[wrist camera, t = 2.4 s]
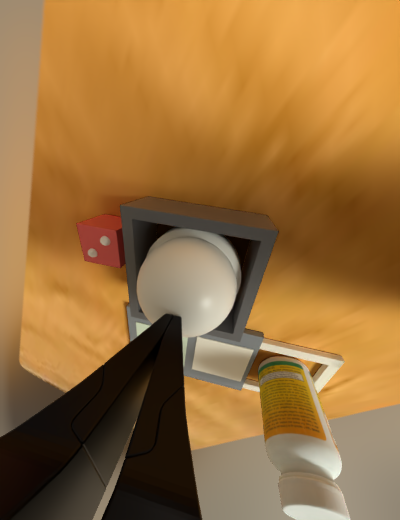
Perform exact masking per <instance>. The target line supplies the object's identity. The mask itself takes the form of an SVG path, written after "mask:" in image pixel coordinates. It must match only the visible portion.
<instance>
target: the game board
mask: <svg viewBox="0 0 400 520" xmlns="http://www.w3.org/2000/svg"><path fill="white" fill-rule="evenodd" d="M127 315H128V324H129V333H130V342H131V341H132V340H134V339H135V338H136V337H137V336H139V335H140V334H141V333H142V332H143V331H145V330H146V329H147V328H148V327H150V326H151V325H152V323H151V322H150V321H148V320H143V319H139V318H135V317H131V312H130V303H129V304H128V305H127ZM182 340H183V366H184V376H188V377H192V378H195V379H199V380H203V381H207V382H210V383H214V384H218V385H222V386H226V387H229V388H233V389H237V390H241V389H242V388H246V389H249V390H253V391H257V392H260V389H259V382H257V381H253V380H249V379H246V378H247V376H248V373H249V371H250V369H251V366H252V364H253V362H254V360H255V357H256V355H257V353H258V351H259V349H262V350H266V351H271V352H275V353H279V354H283V355H288V356H292V357H296V358H300V359H304V360H309V361H313V362H317V363H321V364H322V366H321V367H320V368H319V370H318V371H317V372H316V373H315V375H314V376H313V377H312V379H313V382H314V385H315V387H316V390H317V393H318V392H319V391H320V390H321V389H322V388H323V387H324V385H325V384H326V383H327V382H328V381H329V380H330V378H331V377H332V376H333V375H334V374H335V373H336V371H337V370H338V369H339V368H340V367H341V366H342V364H343V363H344V362H345V361H344V359H343V358H342V356H340V355H335V354H331V353H327V352H322V351H318V350H314V349H309V348H305V347H301V346H296V345H292V344H287V343H283V342H279V341H274V340H270V339H266V338H264V334H263V333H261V332H257V331H253V330H248V329H244V332H243V335H242V338H241V341H240V342H237V341H232V340H228V339H224V338H220V337H215V336H211V335H207V334H203V335H200V336H196V337H188V338H183V337H182Z"/></svg>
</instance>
